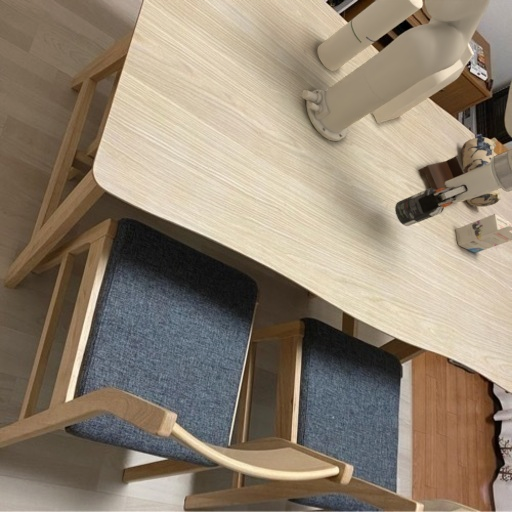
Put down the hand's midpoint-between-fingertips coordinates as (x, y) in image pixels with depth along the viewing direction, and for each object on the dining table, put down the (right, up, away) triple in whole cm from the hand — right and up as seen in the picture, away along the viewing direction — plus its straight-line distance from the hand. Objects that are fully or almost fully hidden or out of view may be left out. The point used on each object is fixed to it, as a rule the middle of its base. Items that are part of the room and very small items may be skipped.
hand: (429, 203), depth 123 cm
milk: (-6, +29, +26) cm, 40 cm away
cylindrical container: (-20, +37, +16) cm, 45 cm away
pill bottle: (-5, -2, +5) cm, 7 cm away
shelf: (+12, +8, +32) cm, 35 cm away
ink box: (+19, -7, +32) cm, 39 cm away
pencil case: (+25, +11, +45) cm, 53 cm away
